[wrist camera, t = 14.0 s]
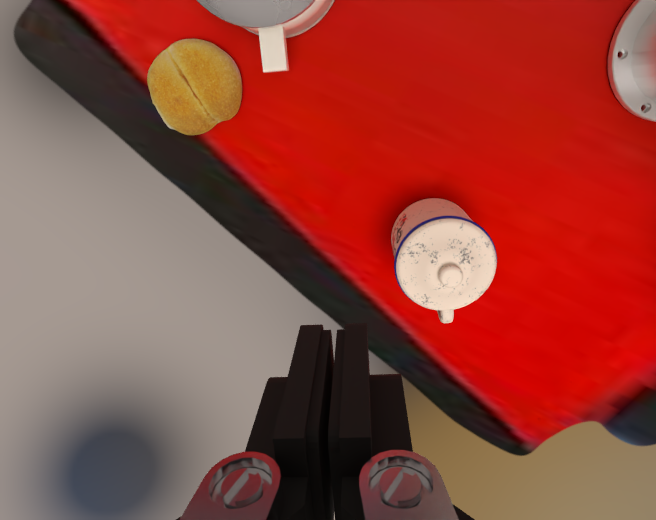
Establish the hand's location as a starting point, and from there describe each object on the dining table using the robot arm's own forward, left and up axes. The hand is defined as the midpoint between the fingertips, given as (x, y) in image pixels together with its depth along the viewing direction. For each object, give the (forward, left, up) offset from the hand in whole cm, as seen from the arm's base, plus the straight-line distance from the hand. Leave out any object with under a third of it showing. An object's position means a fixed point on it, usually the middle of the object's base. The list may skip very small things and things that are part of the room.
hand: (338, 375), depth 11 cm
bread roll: (+15, -8, -38) cm, 41 cm away
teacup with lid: (-8, +10, -37) cm, 39 cm away
